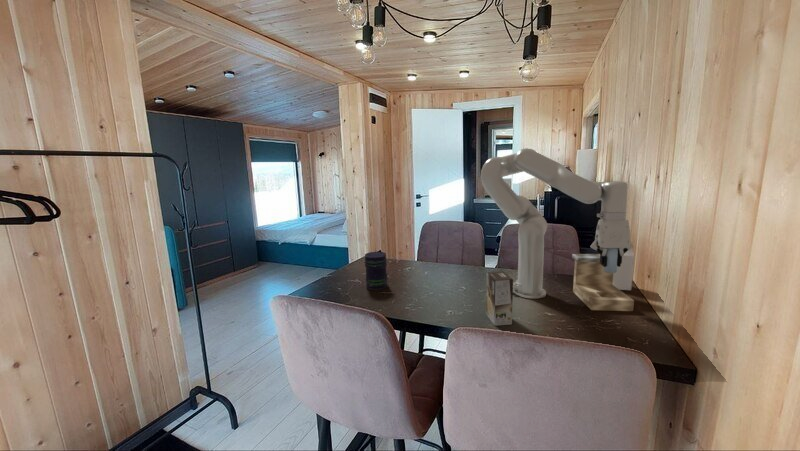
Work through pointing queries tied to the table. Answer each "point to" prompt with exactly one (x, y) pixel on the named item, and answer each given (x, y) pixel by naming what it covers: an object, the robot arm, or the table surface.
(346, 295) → the table surface
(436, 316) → the table surface
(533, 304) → the table surface
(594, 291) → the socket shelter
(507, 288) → the coffee box
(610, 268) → the peg
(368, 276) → the storage jar
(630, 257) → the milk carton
